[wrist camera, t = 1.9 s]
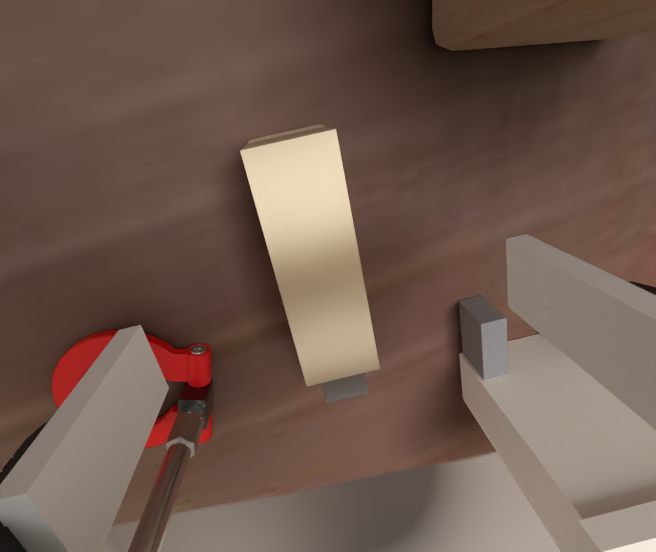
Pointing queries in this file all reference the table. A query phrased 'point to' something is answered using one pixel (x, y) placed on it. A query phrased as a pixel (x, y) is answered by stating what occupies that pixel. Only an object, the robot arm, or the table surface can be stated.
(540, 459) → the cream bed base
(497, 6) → the block
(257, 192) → the rail
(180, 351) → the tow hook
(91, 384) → the robot arm
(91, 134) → the table surface
